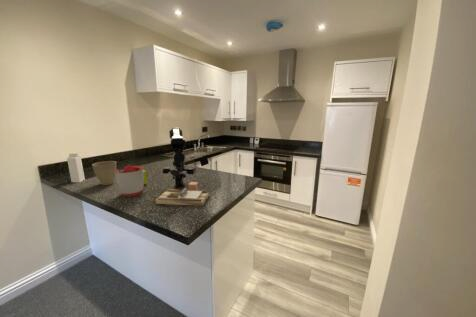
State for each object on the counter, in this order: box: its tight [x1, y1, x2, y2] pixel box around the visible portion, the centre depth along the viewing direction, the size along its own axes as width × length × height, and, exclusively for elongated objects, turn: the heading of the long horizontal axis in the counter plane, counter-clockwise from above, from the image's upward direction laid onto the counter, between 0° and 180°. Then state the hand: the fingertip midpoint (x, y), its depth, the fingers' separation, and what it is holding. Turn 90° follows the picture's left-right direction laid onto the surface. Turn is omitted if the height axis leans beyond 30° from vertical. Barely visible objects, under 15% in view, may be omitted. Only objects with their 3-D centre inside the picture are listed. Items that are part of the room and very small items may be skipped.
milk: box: [66, 153, 85, 183], centre depth 150 cm, size 6×6×22 cm
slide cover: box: [179, 187, 202, 199], centre depth 117 cm, size 11×11×4 cm
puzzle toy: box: [143, 169, 148, 185], centre depth 145 cm, size 10×10×10 cm
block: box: [187, 181, 199, 190], centre depth 131 cm, size 5×5×6 cm
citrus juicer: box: [115, 164, 145, 198], centre depth 126 cm, size 16×17×20 cm
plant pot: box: [91, 160, 117, 186], centre depth 145 cm, size 15×15×16 cm
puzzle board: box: [155, 188, 210, 207], centre depth 118 cm, size 14×28×4 cm, turn 84°
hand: (180, 184), depth 117 cm, fingers closed
